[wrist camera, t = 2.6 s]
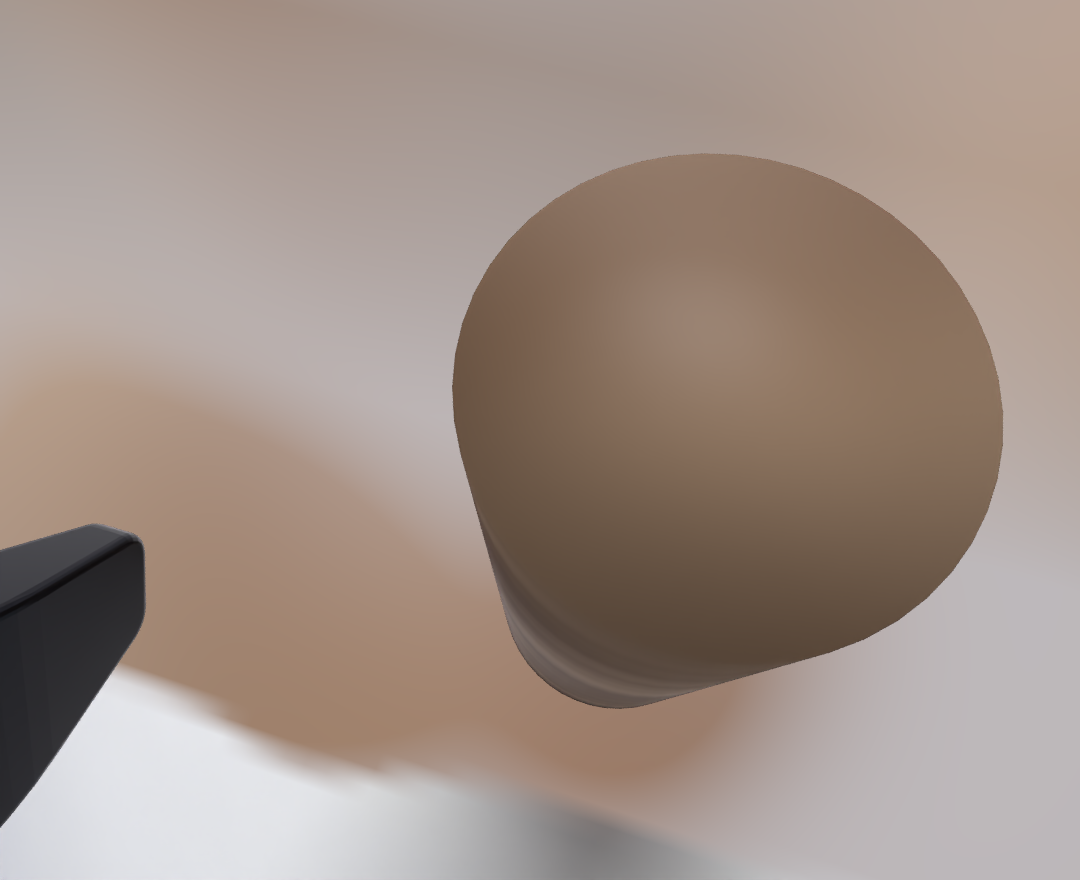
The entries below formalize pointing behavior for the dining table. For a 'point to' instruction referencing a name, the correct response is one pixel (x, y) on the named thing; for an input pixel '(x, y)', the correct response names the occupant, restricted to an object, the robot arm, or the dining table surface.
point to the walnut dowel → (718, 425)
